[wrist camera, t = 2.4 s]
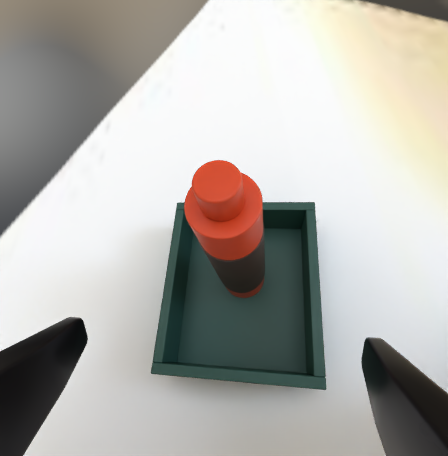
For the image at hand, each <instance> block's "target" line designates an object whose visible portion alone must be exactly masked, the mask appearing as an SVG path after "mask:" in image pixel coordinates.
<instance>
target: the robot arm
mask: <svg viewBox="0 0 448 456" xmlns="http://www.w3.org/2000/svg"><path fill="white" fill-rule="evenodd" d="M87 340H88V337H87V333H86V329H85V325H84V322H83V320H82V319H81V318H77V317H69V318H66V319H64V320H62V321H60V322H58V323H56V324H54V325H52V326H50V327H48V328H46V329H44V330H42V331H40V332H38V333H36V334H34V335H32V336H30V337H28V338H26V339H24V340H22V341H20V342H18V343H16V344H14V345H12V346H10V347H8V348H6V349H4V350H2V351H0V456H23V455H24V453H25V452H26V450H27V448H28V447H29V445H30V443H31V442H32V440H33V439H34V437H35V435H36V434H37V432H38V431H39V429H40V427H41V426H42V424H43V422H44V421H45V419H46V418H47V416H48V414H49V413H50V411H51V409H52V408H53V406H54V405H55V403H56V401H57V400H58V398H59V396H60V395H61V393H62V391H63V390H64V388H65V386H66V384H67V382H68V380H69V378H70V376H71V374H72V372H73V370H74V368H75V366H76V364H77V362H78V360H79V358H80V356H81V354H82V352H83V350H84V348H85V346H86V344H87ZM362 369H363V373H364V378H365V382H366V386H367V391H368V395H369V399H370V404H371V408H372V412H373V416H374V420H375V424H376V427H377V430H378V433H379V436H380V439H381V442H382V445H383V448H384V451H385V454H386V456H448V394H447V393H446V392H445V391H444V390H443V389H441V388H440V387H439V386H438V385H437V384H435V383H434V382H433V381H432V380H431V379H430V378H428V377H427V376H426V375H425V374H424V373H422V372H421V371H420V370H419V369H418V368H416V367H415V366H414V365H413V364H412V363H410V362H409V361H408V360H407V359H406V358H404V357H403V356H402V355H401V354H400V353H398V352H397V351H396V350H395V349H394V348H392V347H391V346H390V345H389V344H388V343H387V342H385V341H384V340H383V339H381V338H370V337H368V338H366V339H365V342H364V348H363V354H362Z"/></svg>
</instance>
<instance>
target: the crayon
mask: <svg viewBox="0 0 448 456" xmlns="http://www.w3.org/2000/svg"><path fill="white" fill-rule="evenodd" d="M184 211H185V216H186V219H187V221H188V223H189V225H190V226H191V228H192V230H193V232H194V233H195V235H196V237H197V238H198V241H199V244H200V246H201V248H202V249H203V251H204V253H205V254H206V256H207V258H208V259H209V261H210V263H211V264H212V266H213V268H214V269H215V271H216V273H217V275H218V276H219V278H220V280H221V281H222V283H223V284H224V285H225V287H226V288H227V290H228V291H229V292H230V293H231V294H232V295H234V296H236V297H239V298H248V297H251V296H254V295H255V294H257V293H258V292H259V291H260V289H261V288H262V286H263V283H264V274H265V250H264V223H263V202H262V195H261V191H260V189H259V187H258V186H257V184H256V183H255V182H254V181H253V180H252V179H251V178H250V177H248V176H247V175H245V174H243V173H241V172H240V171H239V170H238V168H237V167H236V166H234V165H233V164H232V163H230V162H227V161H223V160H216V161H211V162H208V163H206V164H204V165H202V166H201V167H200V168H199V169H198V170H197V171H196V173H195V174H194V177H193V180H192V187H191V188H190V190H189V191H188V193H187V196H186V199H185V204H184Z"/></svg>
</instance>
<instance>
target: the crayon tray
mask: <svg viewBox="0 0 448 456" xmlns="http://www.w3.org/2000/svg"><path fill="white" fill-rule="evenodd" d="M184 204H185V203H177V208H176V215H175V221H174V228H173V234H172V241H171V247H170V253H169V260H168V266H167V273H166V279H165V286H164V292H163V299H162V305H161V311H160V318H159V324H158V331H157V337H156V344H155V350H154V357H153V363H152V369H151V374H159V375H170V376H181V377H192V378H202V379H213V380H224V381H235V382H246V383H256V384H267V385H278V386H289V387H300V388H310V389H321V390H326V378H325V376H326V375H325V359H324V344H323V328H322V312H321V296H320V280H319V264H318V248H317V232H316V216H315V203H314V202H263V223H264V250H265V274H264V283H263V286H262V288H261V289H260V291H259V292H258V293H257V294H255V295H254V296H251V297H248V298H239V297H236V296H234V295H232V294H231V293H230V292H229V291H228V290H227V288H226V287H225V285H224V284H223V283H222V281H221V280H220V278H219V276H218V275H217V273H216V271H215V269H214V268H213V266H212V264H211V263H210V261H209V259H208V258H207V256H206V254H205V253H204V251H203V249H202V248H201V246H200V244H199V241H198V238H197V237H196V235H195V233H194V232H193V230H192V228H191V226H190V225H189V223H188V221H187V219H186V216H185V211H184Z"/></svg>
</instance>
